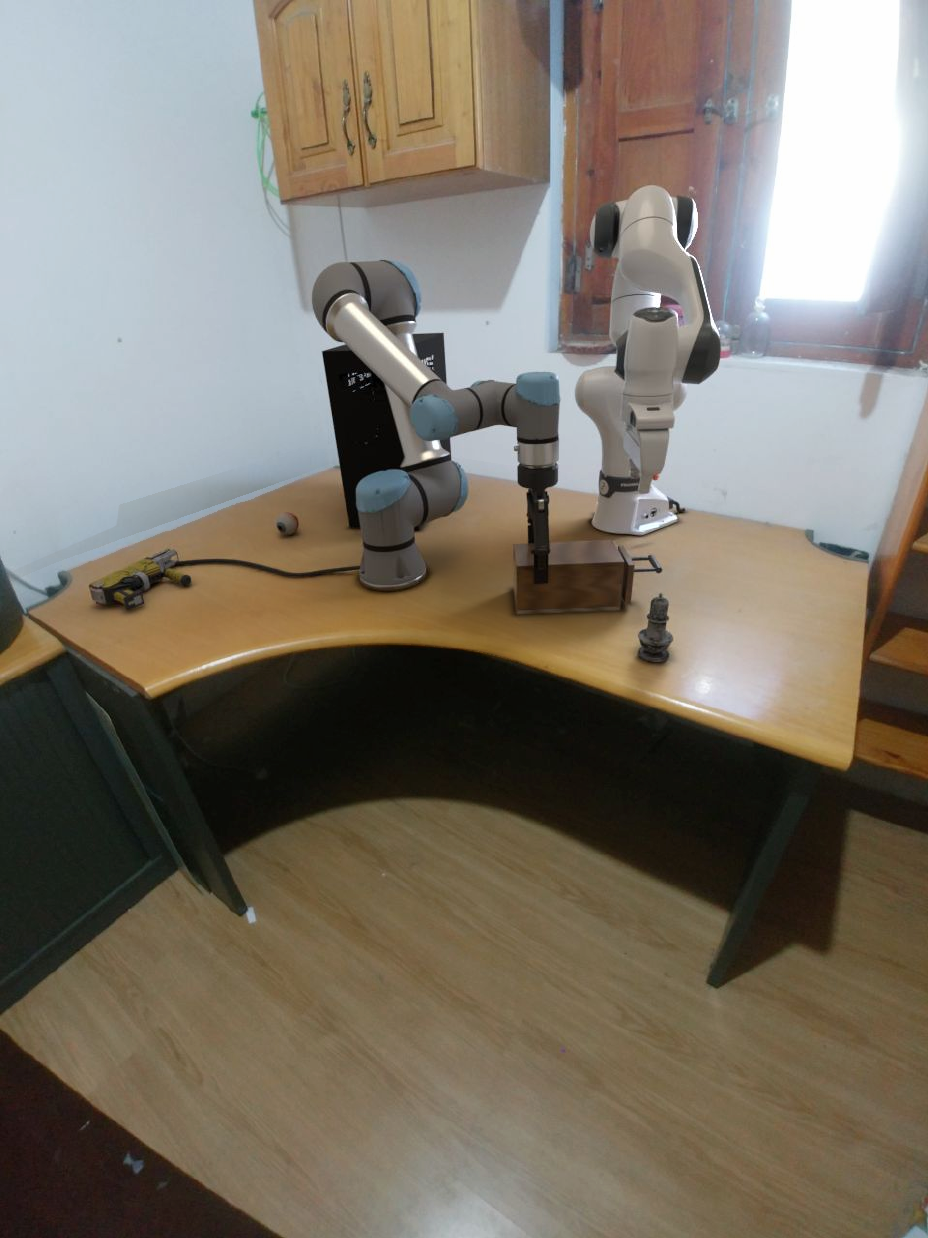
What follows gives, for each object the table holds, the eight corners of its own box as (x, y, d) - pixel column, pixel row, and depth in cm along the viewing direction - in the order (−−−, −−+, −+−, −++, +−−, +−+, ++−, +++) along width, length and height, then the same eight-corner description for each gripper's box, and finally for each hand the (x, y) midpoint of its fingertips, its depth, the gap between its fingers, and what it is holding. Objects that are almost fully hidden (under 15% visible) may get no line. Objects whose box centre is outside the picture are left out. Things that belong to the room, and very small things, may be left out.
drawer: (648, 581, 128) (652, 543, 124) (661, 602, 120) (666, 563, 116) (530, 585, 129) (530, 548, 125) (534, 607, 121) (534, 568, 116)
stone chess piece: (672, 664, 103) (681, 602, 97) (636, 661, 104) (643, 600, 98) (669, 645, 108) (677, 585, 102) (635, 643, 109) (641, 584, 103)
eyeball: (273, 537, 164) (268, 516, 161) (287, 528, 169) (282, 508, 166) (291, 539, 161) (286, 518, 158) (305, 530, 166) (301, 510, 163)
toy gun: (215, 556, 146) (165, 546, 150) (137, 598, 126) (82, 584, 130) (218, 574, 148) (168, 563, 152) (142, 617, 128) (87, 603, 132)
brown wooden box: (609, 585, 129) (612, 539, 124) (620, 610, 120) (624, 561, 115) (513, 589, 130) (513, 543, 125) (516, 614, 121) (516, 566, 115)
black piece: (419, 530, 162) (402, 348, 140) (349, 527, 167) (321, 351, 144) (453, 486, 194) (443, 332, 171) (393, 485, 198) (376, 334, 176)
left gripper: (513, 447, 122) (514, 544, 132) (522, 484, 100) (523, 597, 111) (550, 445, 122) (549, 543, 132) (567, 482, 100) (564, 595, 110)
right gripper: (618, 400, 117) (613, 470, 124) (638, 421, 100) (631, 502, 106) (651, 398, 117) (644, 469, 124) (677, 420, 99) (667, 501, 106)
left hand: (537, 568), depth 121 cm, fingers open, 13 cm apart
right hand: (638, 485), depth 115 cm, fingers open, 8 cm apart
